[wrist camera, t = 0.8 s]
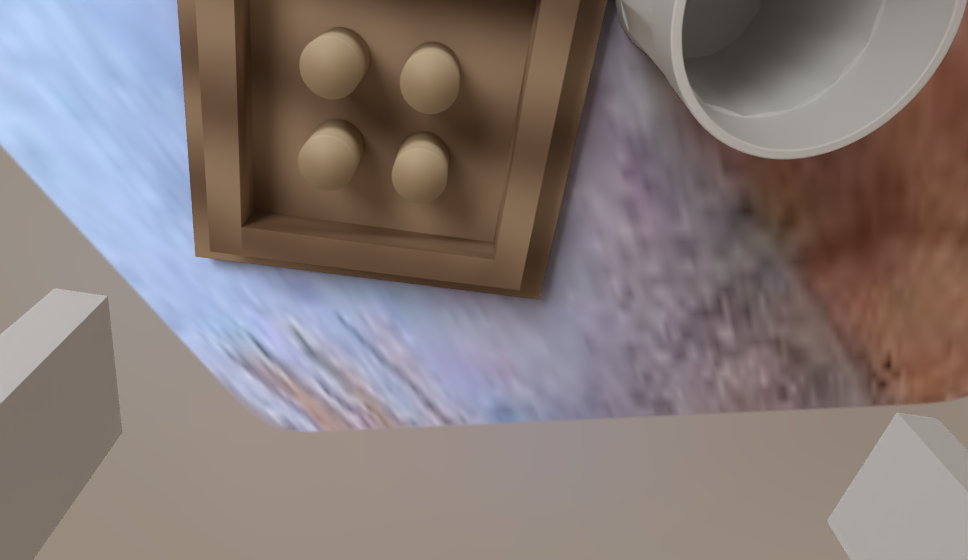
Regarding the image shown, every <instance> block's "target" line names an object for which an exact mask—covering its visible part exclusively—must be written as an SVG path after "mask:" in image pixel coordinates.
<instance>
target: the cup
mask: <svg viewBox="0 0 968 560" xmlns="http://www.w3.org/2000/svg"><path fill="white" fill-rule="evenodd" d="M615 3H616V10H617V14H618V17H619V20H620V23H621V25H622V27H623V29H624V31H625V33H626V34H627V36H628V37H629V38H630V40H631V41H632V42H633V43H634V44H635V45H636V46H637V47H638V48H640V49H641V50H642V51H644V52H645V53H647V54H648V56H649V57H650V58H651V59H652V60H653V62H654V63H655V64H656V65H657V66H658V68H659V69H660V70H661V71H662V72H663V74H664V75H665V77H666V79H667V80H668V82H669V83H670V85H671V86H672V88H673V89H674V90H675V92H676V93H677V94H678V96H679V97H680V98H681V100H682V101H683V102H684V104H685V105H686V106H687V108H688V109H689V110H690V112H691V113H692V115H693V116H694V117H695V118H696V120H697V121H698V122H699V123H700V124H701V125H702V127H703V128H704V129H705V130H707V131H708V132H709V133H710V134H711V135H712V136H714V137H715V138H716V139H718V140H719V141H721V142H722V143H724V144H726V145H727V146H729V147H731V148H733V149H735V150H738V151H740V152H743V153H746V154H749V155H752V156H757V157H762V158H768V159H800V158H807V157H812V156H817V155H821V154H825V153H828V152H831V151H834V150H837V149H840V148H842V147H844V146H847V145H849V144H851V143H853V142H855V141H857V140H859V139H861V138H863V137H865V136H866V135H868V134H870V133H871V132H873V131H875V130H876V129H878V128H879V127H881V126H882V125H883V124H885V123H886V122H887V121H889V120H890V119H891V118H892V117H894V116H895V115H896V114H897V113H898V112H900V111H901V110H902V109H903V108H904V107H905V106H906V105H907V104H908V103H909V102H910V101H911V100H912V99H913V98H914V97H915V96H916V95H917V94H918V93H919V92H920V90H921V89H922V88H923V87H924V86H925V84H926V83H927V82H928V80H929V79H930V78H931V77H932V75H933V74H934V72H935V71H936V69H937V68H938V66H939V65H940V63H941V62H942V60H943V58H944V57H945V55H946V53H947V51H948V50H949V48H950V46H951V44H952V42H953V40H954V37H955V35H956V33H957V31H958V28H959V26H960V23H961V20H962V17H963V14H964V11H965V7H966V4H967V0H615Z"/></svg>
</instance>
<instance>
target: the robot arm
mask: <svg viewBox="0 0 968 560" xmlns="http://www.w3.org/2000/svg"><path fill="white" fill-rule="evenodd" d="M118 399H119V398H118V389H117V379H116V370H115V360H114V351H113V341H112V333H111V322H110V313H109V304H108V296H103V295H96V294H90V293H83V292H76V291H69V290H62V289H56V288H55V289H53V290H52V291H51V292H50V293H49V294H47V295H46V296H45V297H44V298H43V299H42V300H41V301H39V302H38V303H37V304H36V305H35V306H33V308H31V309H30V310H29V311H28V312H26V313H25V314H24V315H23V316H22V317H21V318H19V319H18V320H17V321H16V322H15V323H14V324H12V325H11V326H10V327H9V328H8V329H6V330H5V331H4V332H3V333H2V334H1V335H0V560H33V559H34V558H35V556H36V555H37V554H38V552H39V551H40V549H41V548H42V546H43V545H44V544H45V542H46V541H47V539H48V537H49V536H50V535H51V533H52V532H53V531H54V529H55V528H56V526H57V525H58V524H59V522H60V521H61V519H62V518H63V516H64V515H65V514H66V512H67V511H68V509H69V508H70V506H71V505H72V503H73V502H74V501H75V499H76V498H77V496H78V495H79V493H80V492H81V491H82V489H83V488H84V486H85V485H86V483H87V482H88V481H89V479H90V478H91V476H92V475H93V473H94V472H95V470H96V469H97V467H98V466H99V465H100V463H101V462H102V461H103V459H104V458H105V456H106V455H107V453H108V452H109V450H110V449H111V447H112V446H113V445H114V443H115V442H116V440H117V439H118V438H119V436H120V435H121V433H122V426H121V417H120V407H119V400H118ZM827 522H828V524H829V525H830V527H831V529H832V530H833V532H834V534H835V535H836V537H837V539H838V540H839V542H840V543H841V545H842V547H843V549H844V550H845V552H846V553H847V555H848V557H849V558H850V560H968V450H967V449H966V448H965V447H964V446H963V445H962V444H961V443H960V442H959V441H958V440H957V439H956V438H955V437H954V436H953V434H951V432H950V431H949V430H948V429H947V428H946V427H945V426H944V425H943V424H942V423H941V422H940V421H939V420H938V419H937V418H932V417H925V416H919V415H912V414H905V413H898V412H897V413H896V414H895V416H894V418H893V419H892V421H891V422H890V424H889V426H888V427H887V428H886V430H885V431H884V433H883V435H882V436H881V438H880V439H879V441H878V443H877V444H876V445H875V447H874V449H873V450H872V452H871V453H870V455H869V457H868V458H867V460H866V461H865V463H864V464H863V466H862V467H861V469H860V470H859V472H858V474H857V475H856V477H855V478H854V480H853V481H852V483H851V484H850V486H849V487H848V489H847V491H846V492H845V494H844V495H843V497H842V498H841V500H840V501H839V503H838V505H837V506H836V508H835V509H834V511H833V512H832V514H831V515H830V517H829V519H828V520H827Z"/></svg>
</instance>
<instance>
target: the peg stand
mask: <svg viewBox="0 0 968 560" xmlns="http://www.w3.org/2000/svg"><path fill="white" fill-rule="evenodd" d="M177 4H178V18H179V32H180V46H181V60H182V74H183V88H184V102H185V116H186V130H187V144H188V158H189V172H190V186H191V200H192V214H193V228H194V242H195V256H196V257H203V258H212V259H220V260H228V261H236V262H244V263H252V264H260V265H268V266H276V267H284V268H292V269H300V270H308V271H316V272H324V273H332V274H340V275H348V276H356V277H364V278H372V279H380V280H388V281H396V282H404V283H412V284H420V285H428V286H436V287H444V288H452V289H460V290H468V291H476V292H484V293H492V294H500V295H508V296H516V297H524V298H532V299H540V295H541V291H542V286H543V282H544V277H545V273H546V269H547V264H548V260H549V255H550V251H551V247H552V242H553V238H554V233H555V229H556V225H557V220H558V216H559V211H560V207H561V203H562V198H563V194H564V189H565V185H566V181H567V176H568V172H569V167H570V163H571V159H572V154H573V150H574V145H575V141H576V137H577V132H578V128H579V123H580V119H581V115H582V110H583V106H584V101H585V97H586V93H587V88H588V84H589V79H590V75H591V71H592V66H593V62H594V57H595V53H596V49H597V44H598V40H599V35H600V31H601V27H602V22H603V18H604V13H605V9H606V5H607V0H177Z"/></svg>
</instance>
